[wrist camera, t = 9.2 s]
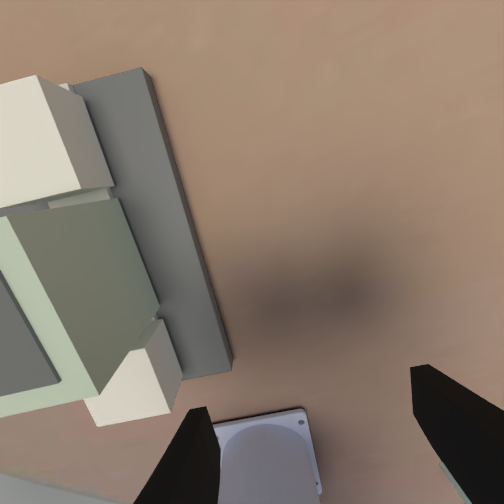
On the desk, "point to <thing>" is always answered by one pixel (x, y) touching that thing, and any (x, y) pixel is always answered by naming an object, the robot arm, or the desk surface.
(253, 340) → the desk surface
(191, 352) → the rail board
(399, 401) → the desk surface
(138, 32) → the desk surface
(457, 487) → the l-shaped corner panel
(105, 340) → the block
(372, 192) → the desk surface
